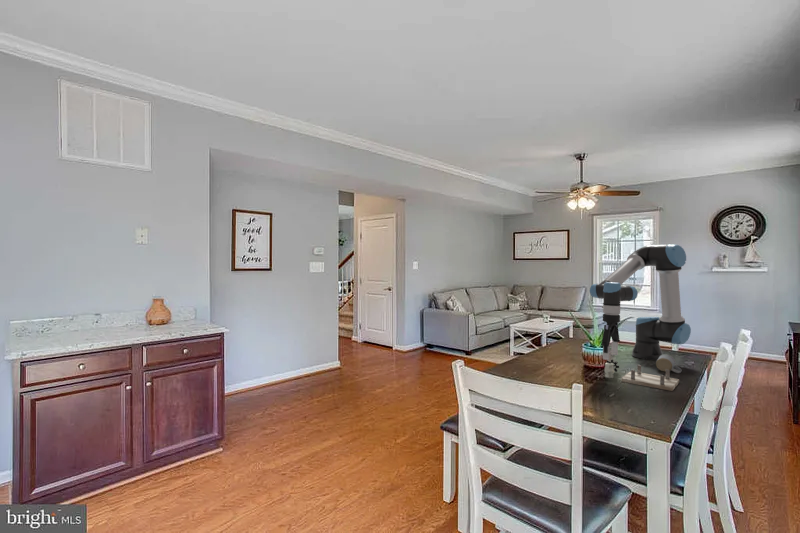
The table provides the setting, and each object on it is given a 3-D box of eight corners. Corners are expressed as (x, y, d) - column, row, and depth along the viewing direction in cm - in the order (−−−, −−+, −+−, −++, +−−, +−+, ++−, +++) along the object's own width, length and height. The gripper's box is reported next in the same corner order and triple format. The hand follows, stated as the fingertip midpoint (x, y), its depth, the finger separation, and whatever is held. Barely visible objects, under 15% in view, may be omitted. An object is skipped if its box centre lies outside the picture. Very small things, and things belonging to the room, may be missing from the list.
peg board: (630, 373, 203) (630, 362, 203) (679, 382, 189) (679, 370, 189) (621, 381, 191) (621, 369, 191) (672, 391, 178) (672, 378, 178)
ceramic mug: (655, 370, 208) (655, 355, 208) (658, 367, 215) (658, 352, 214) (680, 375, 201) (680, 359, 201) (682, 371, 208) (683, 356, 207)
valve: (616, 379, 194) (619, 373, 204) (616, 365, 194) (619, 360, 204) (601, 377, 198) (604, 371, 208) (601, 363, 198) (604, 358, 208)
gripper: (610, 310, 213) (609, 351, 213) (594, 315, 194) (593, 360, 195) (626, 312, 208) (625, 354, 208) (612, 317, 189) (610, 363, 190)
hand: (610, 357), depth 201 cm, fingers open, 13 cm apart
